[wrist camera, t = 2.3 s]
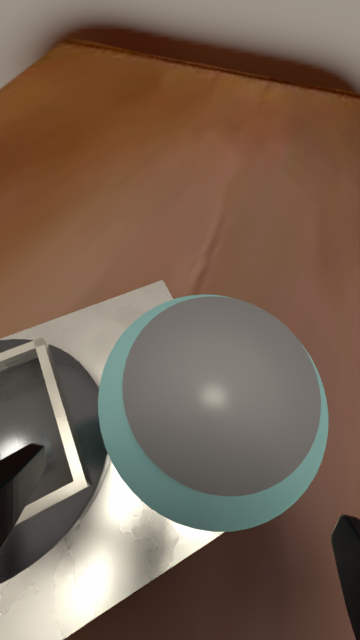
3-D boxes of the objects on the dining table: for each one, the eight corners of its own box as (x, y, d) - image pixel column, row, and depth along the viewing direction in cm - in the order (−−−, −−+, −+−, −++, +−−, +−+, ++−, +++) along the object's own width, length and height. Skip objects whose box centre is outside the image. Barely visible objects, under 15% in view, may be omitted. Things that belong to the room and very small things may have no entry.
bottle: (243, 458, 17) (410, 444, 6) (158, 509, 16) (157, 626, 4) (199, 376, 20) (257, 248, 8) (121, 414, 18) (55, 322, 7)
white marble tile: (276, 492, 17) (313, 500, 13) (-142, 767, 12) (-308, 932, 8) (162, 286, 24) (163, 249, 20) (-140, 398, 18) (-227, 379, 14)
